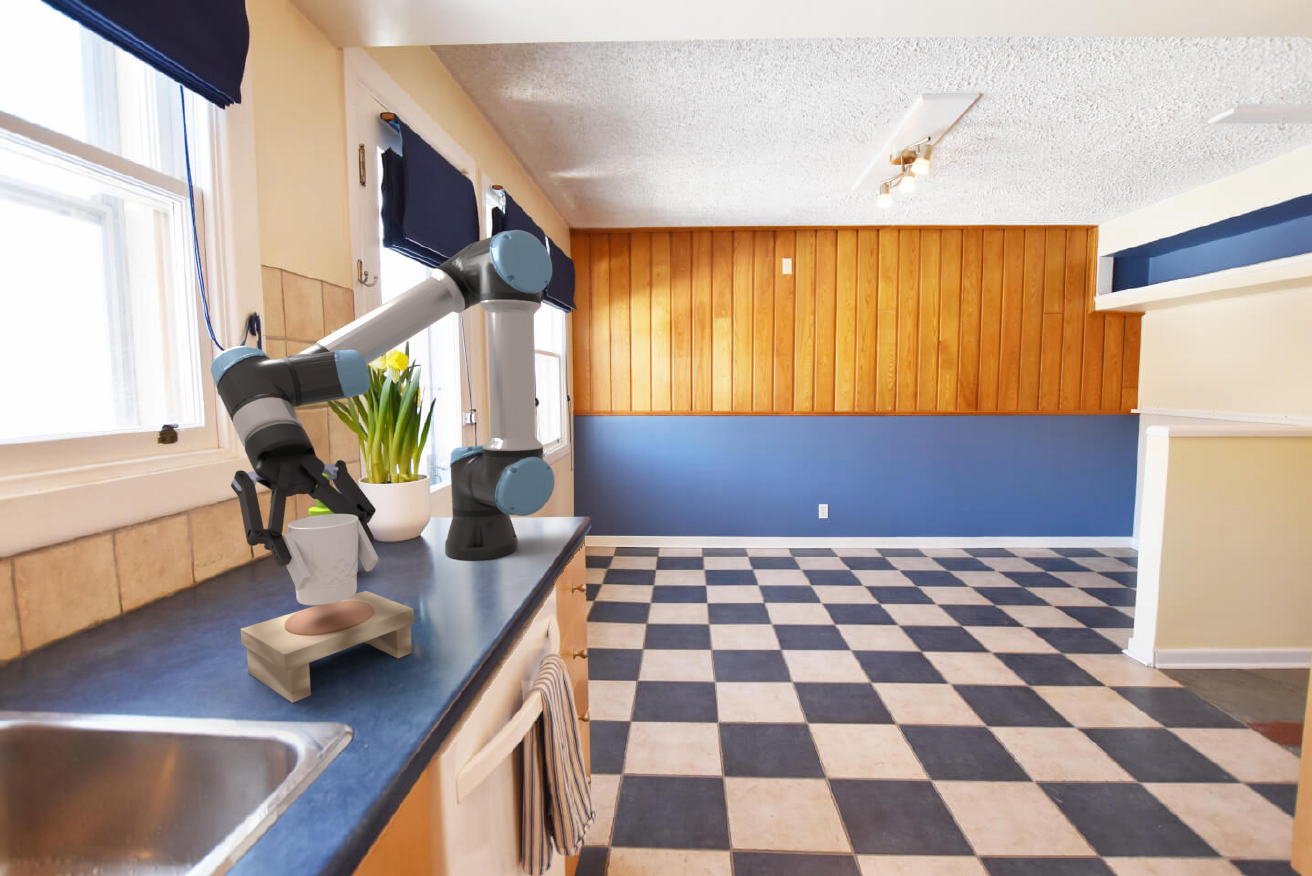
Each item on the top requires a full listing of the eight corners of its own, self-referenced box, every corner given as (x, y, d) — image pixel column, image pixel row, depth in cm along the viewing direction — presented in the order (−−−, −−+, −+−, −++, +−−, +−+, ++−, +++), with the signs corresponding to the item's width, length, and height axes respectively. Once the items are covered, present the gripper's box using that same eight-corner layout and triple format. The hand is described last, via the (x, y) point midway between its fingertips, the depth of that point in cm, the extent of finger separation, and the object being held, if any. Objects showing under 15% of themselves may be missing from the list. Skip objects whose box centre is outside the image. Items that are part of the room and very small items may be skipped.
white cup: (319, 584, 79) (316, 512, 78) (374, 586, 79) (371, 514, 78) (276, 606, 72) (271, 527, 71) (336, 609, 71) (332, 529, 70)
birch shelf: (367, 629, 86) (365, 588, 85) (415, 651, 79) (413, 606, 79) (243, 674, 73) (240, 625, 72) (287, 705, 66) (284, 651, 65)
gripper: (341, 449, 91) (404, 569, 83) (177, 464, 74) (237, 616, 66) (357, 417, 87) (425, 538, 79) (189, 424, 70) (254, 580, 63)
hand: (339, 573), depth 73 cm, fingers closed on white cup, 8 cm apart
